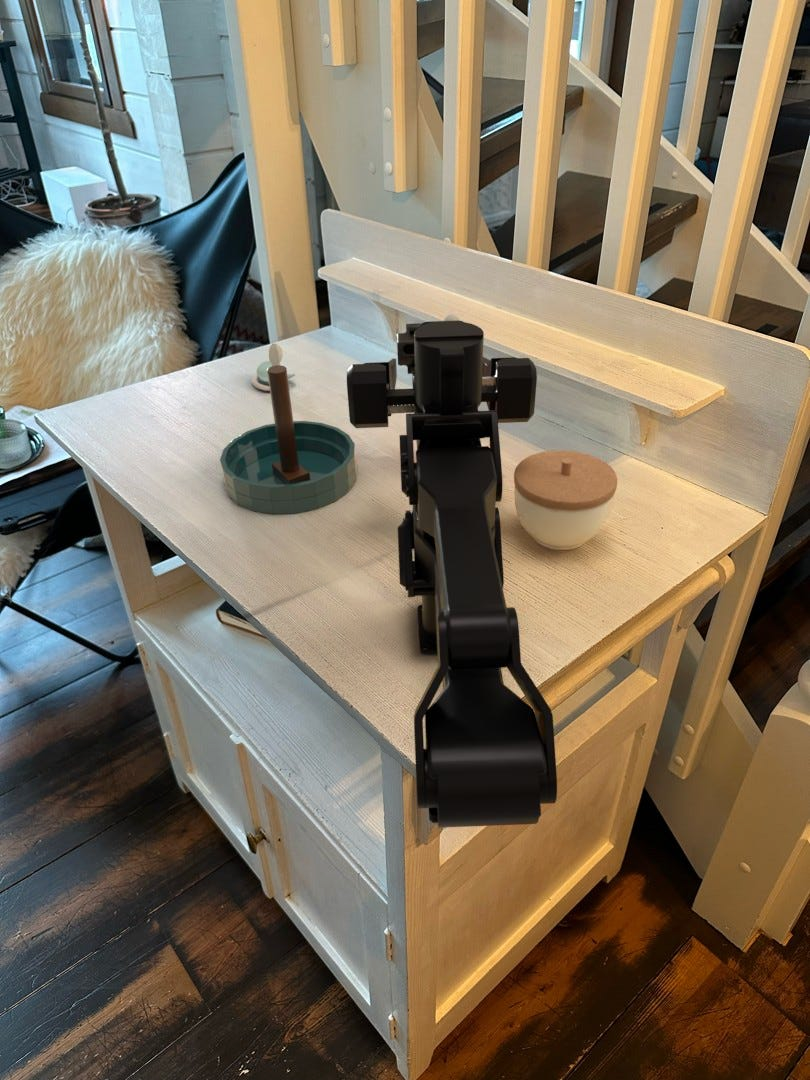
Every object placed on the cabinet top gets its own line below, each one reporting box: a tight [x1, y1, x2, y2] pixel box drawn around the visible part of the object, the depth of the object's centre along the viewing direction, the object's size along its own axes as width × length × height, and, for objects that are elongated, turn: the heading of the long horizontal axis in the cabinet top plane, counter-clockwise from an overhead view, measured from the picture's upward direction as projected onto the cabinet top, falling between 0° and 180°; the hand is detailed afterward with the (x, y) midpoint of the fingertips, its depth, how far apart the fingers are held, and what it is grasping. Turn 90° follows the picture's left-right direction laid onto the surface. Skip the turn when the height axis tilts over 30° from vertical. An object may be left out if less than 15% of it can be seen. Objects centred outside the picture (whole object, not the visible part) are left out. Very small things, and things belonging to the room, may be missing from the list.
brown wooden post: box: [267, 364, 310, 484], centre depth 90 cm, size 5×3×14 cm, turn 34°
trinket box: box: [513, 449, 618, 551], centre depth 82 cm, size 11×11×9 cm
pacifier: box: [251, 343, 296, 392], centre depth 117 cm, size 7×6×6 cm
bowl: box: [219, 420, 358, 515], centre depth 94 cm, size 16×16×4 cm
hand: (436, 361), depth 83 cm, fingers open, 9 cm apart
